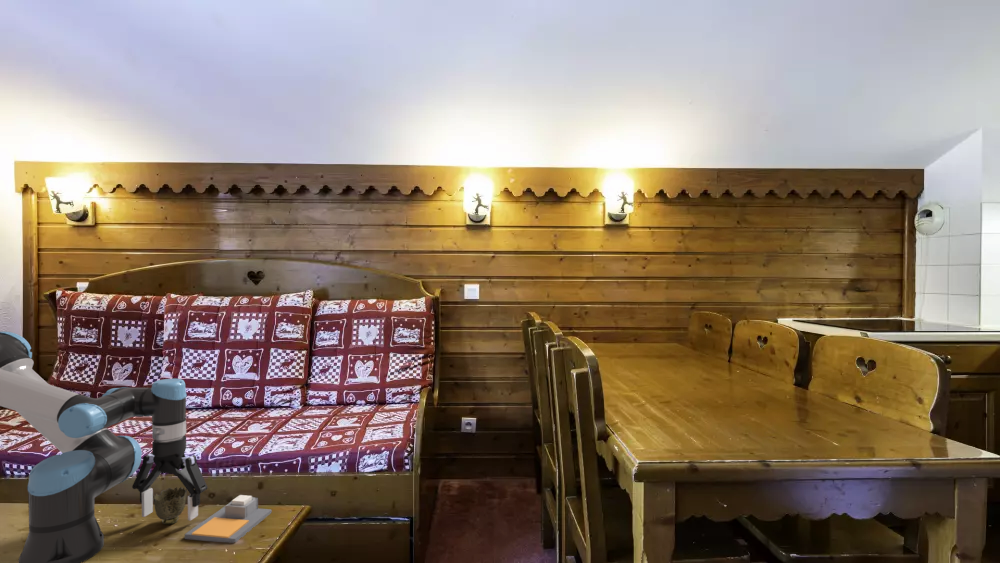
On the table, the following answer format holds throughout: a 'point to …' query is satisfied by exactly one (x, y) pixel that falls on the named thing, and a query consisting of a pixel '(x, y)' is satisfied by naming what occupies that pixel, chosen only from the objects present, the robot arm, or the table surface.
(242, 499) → the button
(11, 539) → the table surface
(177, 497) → the cup
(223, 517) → the plate
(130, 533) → the table surface
